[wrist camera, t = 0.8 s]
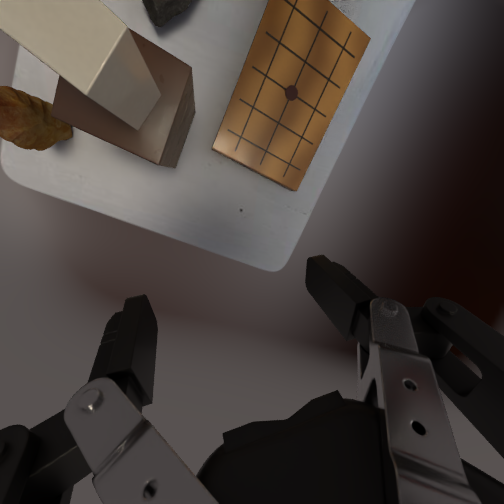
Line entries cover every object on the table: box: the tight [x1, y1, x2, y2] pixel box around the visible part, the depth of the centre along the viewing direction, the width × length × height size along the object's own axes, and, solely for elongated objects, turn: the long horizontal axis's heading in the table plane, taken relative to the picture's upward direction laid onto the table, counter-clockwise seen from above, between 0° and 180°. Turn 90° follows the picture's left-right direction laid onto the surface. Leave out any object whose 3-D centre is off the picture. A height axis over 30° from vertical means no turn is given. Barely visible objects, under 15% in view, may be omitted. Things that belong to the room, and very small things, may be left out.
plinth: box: [51, 28, 195, 168], centre depth 24 cm, size 8×8×14 cm
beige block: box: [0, 0, 161, 130], centre depth 13 cm, size 4×3×9 cm
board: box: [212, 0, 371, 191], centre depth 31 cm, size 14×22×2 cm, turn 155°
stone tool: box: [0, 86, 72, 151], centre depth 22 cm, size 5×2×15 cm, turn 163°
